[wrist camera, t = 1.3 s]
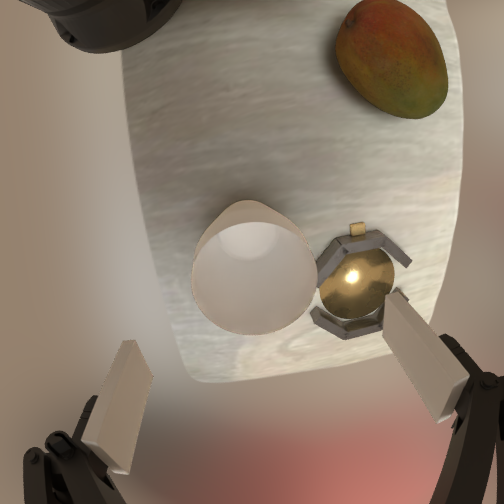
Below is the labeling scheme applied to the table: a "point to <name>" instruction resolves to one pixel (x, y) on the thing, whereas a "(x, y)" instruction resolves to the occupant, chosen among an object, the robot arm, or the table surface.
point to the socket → (356, 282)
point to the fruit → (392, 58)
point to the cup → (253, 270)
